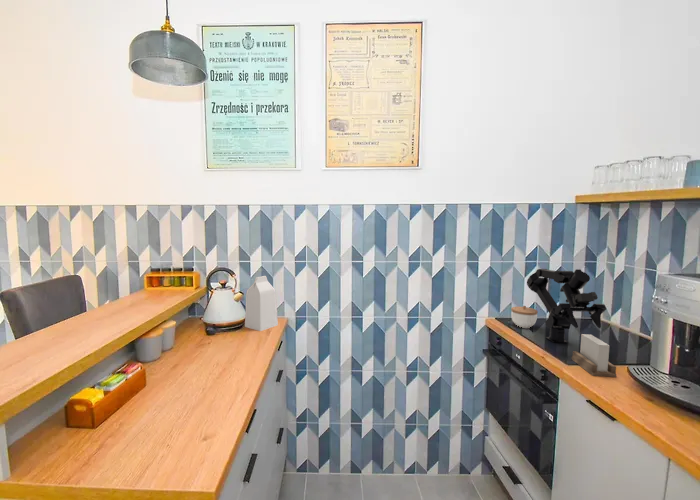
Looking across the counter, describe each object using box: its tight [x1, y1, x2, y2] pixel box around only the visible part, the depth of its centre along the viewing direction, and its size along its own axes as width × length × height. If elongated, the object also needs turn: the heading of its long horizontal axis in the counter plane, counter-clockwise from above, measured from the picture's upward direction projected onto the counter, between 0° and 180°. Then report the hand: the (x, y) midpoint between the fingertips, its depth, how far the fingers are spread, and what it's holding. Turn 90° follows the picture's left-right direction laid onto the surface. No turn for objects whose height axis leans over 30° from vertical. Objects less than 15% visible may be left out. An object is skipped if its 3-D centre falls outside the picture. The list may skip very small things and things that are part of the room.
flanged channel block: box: [571, 350, 617, 378], centre depth 133 cm, size 15×8×4 cm, turn 173°
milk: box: [244, 275, 279, 332], centre depth 179 cm, size 12×12×26 cm
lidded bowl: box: [510, 305, 539, 329], centre depth 185 cm, size 13×13×11 cm
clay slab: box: [579, 333, 610, 372], centre depth 133 cm, size 12×4×10 cm, turn 173°
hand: (588, 327), depth 141 cm, fingers open, 9 cm apart
